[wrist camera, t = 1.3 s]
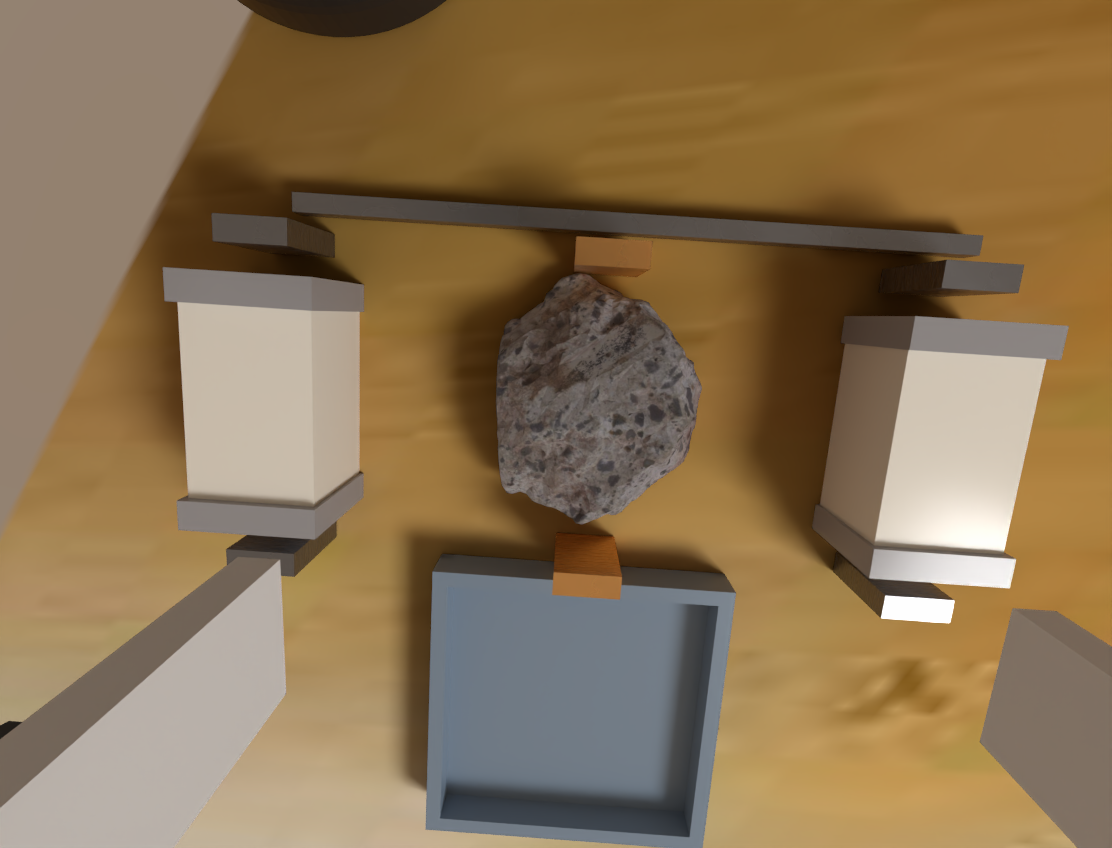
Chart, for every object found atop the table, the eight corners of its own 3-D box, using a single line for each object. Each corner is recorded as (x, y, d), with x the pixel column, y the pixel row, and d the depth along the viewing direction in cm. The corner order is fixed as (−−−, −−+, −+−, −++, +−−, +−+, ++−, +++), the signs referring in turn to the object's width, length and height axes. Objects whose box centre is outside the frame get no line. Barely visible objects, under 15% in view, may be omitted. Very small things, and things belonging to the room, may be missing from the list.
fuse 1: (245, 277, 26) (162, 267, 21) (364, 284, 26) (311, 276, 21) (252, 489, 28) (178, 530, 23) (363, 497, 28) (315, 539, 23)
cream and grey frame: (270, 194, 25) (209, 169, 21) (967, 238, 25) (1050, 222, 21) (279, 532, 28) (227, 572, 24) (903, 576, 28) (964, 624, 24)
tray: (442, 553, 28) (432, 571, 26) (724, 573, 28) (735, 592, 26) (434, 796, 31) (425, 829, 29) (693, 815, 31) (702, 850, 29)
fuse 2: (844, 315, 26) (915, 316, 21) (966, 323, 26) (1068, 326, 20) (811, 528, 28) (869, 578, 22) (925, 536, 28) (1009, 588, 22)
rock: (508, 505, 28) (498, 537, 24) (500, 276, 26) (488, 268, 22) (691, 503, 28) (713, 534, 24) (697, 272, 26) (722, 264, 22)
